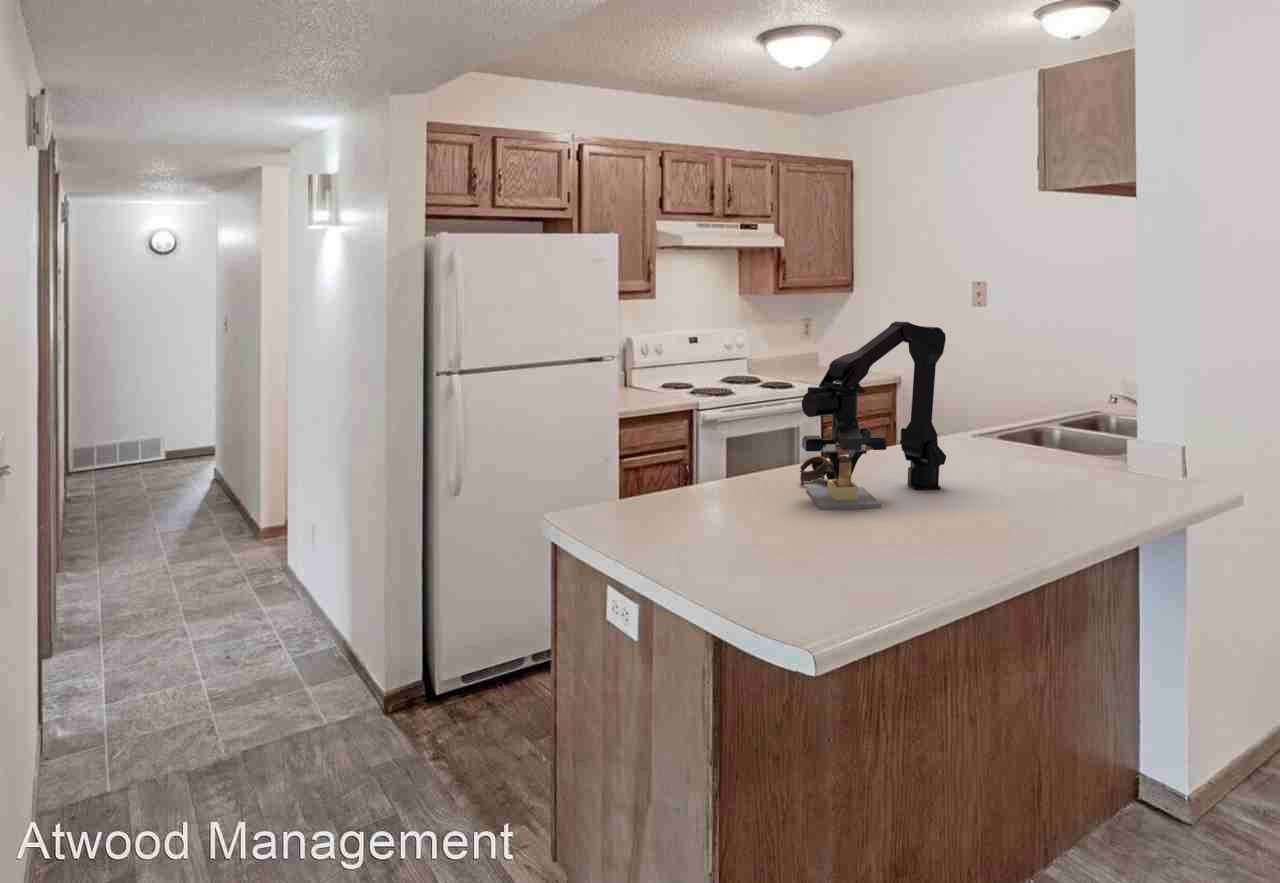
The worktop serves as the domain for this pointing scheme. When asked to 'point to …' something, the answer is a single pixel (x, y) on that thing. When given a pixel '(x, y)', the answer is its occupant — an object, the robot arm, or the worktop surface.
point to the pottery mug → (817, 469)
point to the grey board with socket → (842, 497)
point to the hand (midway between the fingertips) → (843, 478)
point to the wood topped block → (844, 472)
